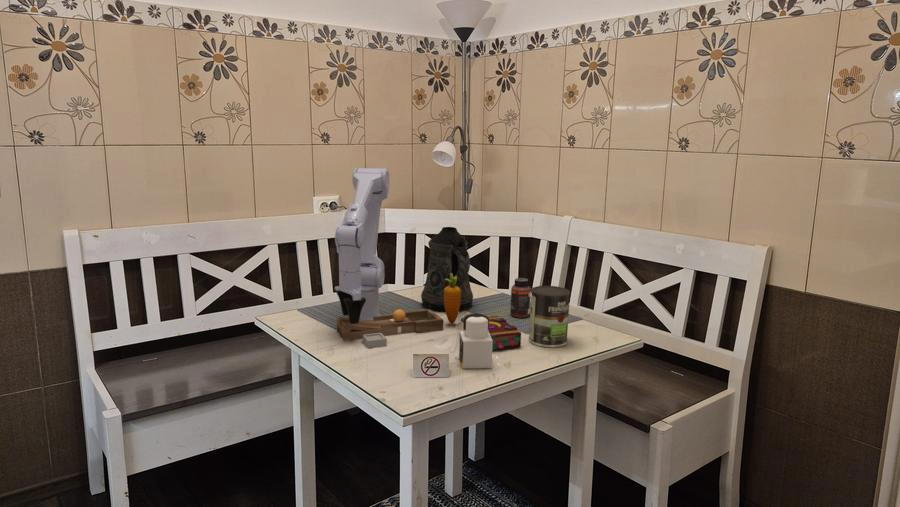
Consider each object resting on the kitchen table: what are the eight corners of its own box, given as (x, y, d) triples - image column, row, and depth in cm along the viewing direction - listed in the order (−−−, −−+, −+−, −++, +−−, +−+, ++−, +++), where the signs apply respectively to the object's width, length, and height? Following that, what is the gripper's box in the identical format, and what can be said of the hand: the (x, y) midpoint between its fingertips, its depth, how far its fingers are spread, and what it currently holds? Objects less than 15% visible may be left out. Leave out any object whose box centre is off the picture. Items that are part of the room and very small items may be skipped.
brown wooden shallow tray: (335, 329, 169) (335, 315, 168) (429, 318, 180) (429, 305, 179) (344, 342, 159) (344, 327, 158) (443, 329, 170) (443, 316, 169)
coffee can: (575, 344, 161) (578, 293, 158) (543, 350, 156) (546, 297, 154) (551, 332, 170) (554, 283, 167) (521, 337, 165) (523, 287, 162)
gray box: (362, 341, 160) (362, 334, 159) (381, 339, 162) (381, 332, 161) (367, 348, 155) (367, 341, 155) (386, 345, 157) (386, 338, 157)
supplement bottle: (533, 316, 184) (535, 280, 181) (519, 319, 180) (520, 282, 178) (520, 311, 189) (522, 276, 186) (506, 314, 185) (507, 278, 183)
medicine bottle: (459, 357, 150) (460, 311, 148) (487, 357, 151) (489, 311, 148) (461, 369, 143) (463, 320, 141) (491, 368, 144) (493, 320, 142)
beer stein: (441, 295, 205) (442, 221, 199) (490, 305, 194) (493, 228, 188) (410, 306, 192) (410, 228, 186) (460, 318, 181) (462, 235, 175)
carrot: (458, 328, 172) (459, 276, 169) (441, 326, 173) (442, 275, 170) (461, 322, 177) (463, 272, 173) (445, 321, 178) (446, 271, 174)
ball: (392, 307, 171) (403, 308, 172) (389, 319, 171) (401, 320, 173) (397, 310, 168) (408, 311, 169) (395, 322, 168) (406, 323, 170)
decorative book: (497, 330, 172) (498, 313, 171) (523, 350, 157) (524, 331, 156) (460, 334, 168) (460, 316, 167) (483, 355, 153) (484, 336, 152)
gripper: (329, 265, 166) (330, 312, 169) (341, 277, 153) (342, 329, 156) (354, 263, 169) (354, 310, 172) (368, 275, 156) (369, 325, 159)
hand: (350, 319), depth 164 cm, fingers open, 7 cm apart
